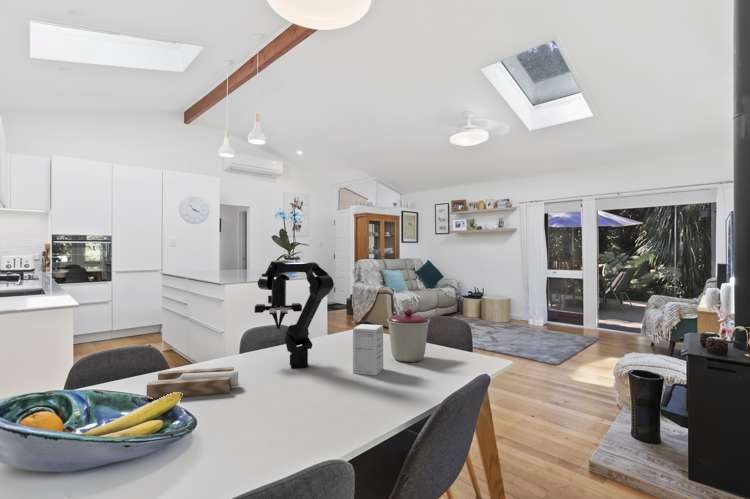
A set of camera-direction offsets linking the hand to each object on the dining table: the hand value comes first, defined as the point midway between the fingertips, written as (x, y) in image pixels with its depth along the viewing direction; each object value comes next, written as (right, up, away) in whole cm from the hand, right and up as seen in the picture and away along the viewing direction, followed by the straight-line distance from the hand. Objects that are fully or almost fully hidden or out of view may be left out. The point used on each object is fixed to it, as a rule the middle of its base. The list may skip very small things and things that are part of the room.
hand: (278, 328), depth 154 cm
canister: (+54, -14, +3) cm, 56 cm away
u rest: (-19, -13, -33) cm, 40 cm away
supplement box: (+37, -13, -13) cm, 42 cm away
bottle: (-5, -10, -31) cm, 33 cm away
